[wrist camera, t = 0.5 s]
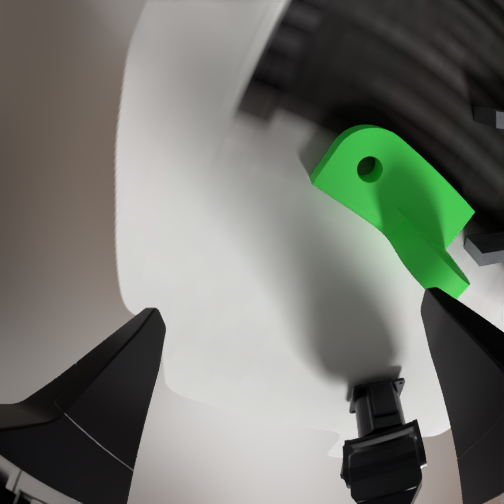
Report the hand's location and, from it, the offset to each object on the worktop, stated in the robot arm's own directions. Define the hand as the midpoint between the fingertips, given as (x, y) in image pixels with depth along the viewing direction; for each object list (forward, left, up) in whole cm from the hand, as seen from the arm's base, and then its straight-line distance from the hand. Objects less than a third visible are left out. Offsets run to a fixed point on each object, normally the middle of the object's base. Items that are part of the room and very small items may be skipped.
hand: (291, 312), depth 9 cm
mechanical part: (-1, -8, -14) cm, 16 cm away
